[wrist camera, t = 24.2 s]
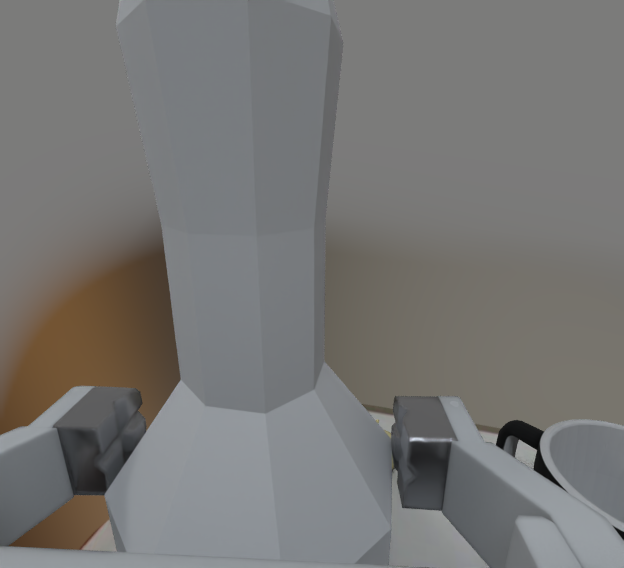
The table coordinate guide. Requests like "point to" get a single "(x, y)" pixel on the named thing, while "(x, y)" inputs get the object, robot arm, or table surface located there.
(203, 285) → the faceted bottle
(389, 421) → the table surface
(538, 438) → the mug
